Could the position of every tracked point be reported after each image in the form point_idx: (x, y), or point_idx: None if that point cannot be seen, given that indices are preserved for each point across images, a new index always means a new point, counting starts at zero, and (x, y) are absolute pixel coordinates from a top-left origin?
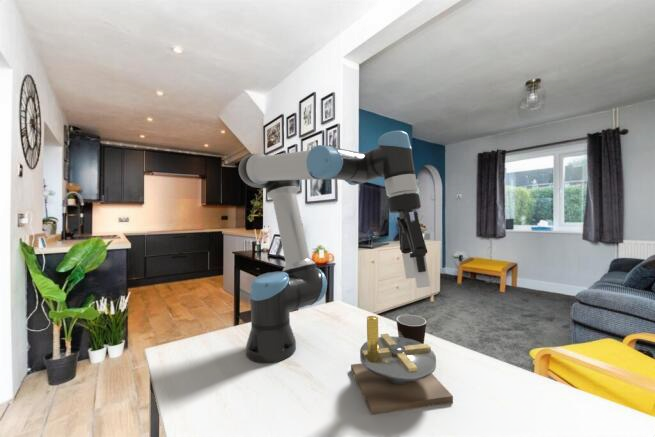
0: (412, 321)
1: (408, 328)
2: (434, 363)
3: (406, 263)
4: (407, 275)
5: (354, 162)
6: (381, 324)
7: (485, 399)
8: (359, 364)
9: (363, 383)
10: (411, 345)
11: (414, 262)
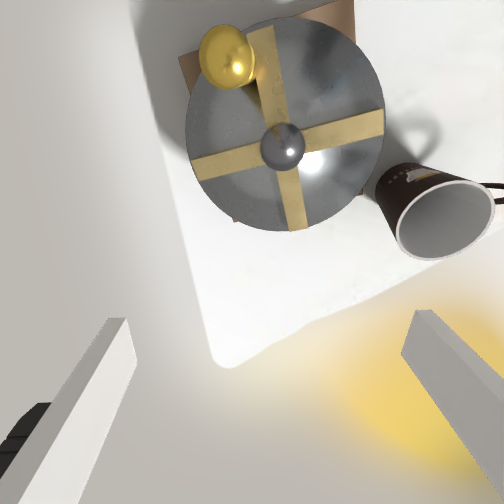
0: (465, 226)
1: (403, 204)
2: (238, 220)
3: (481, 399)
4: (424, 328)
5: None
6: None
7: (246, 261)
8: (349, 27)
9: None
10: (300, 190)
11: (12, 467)
